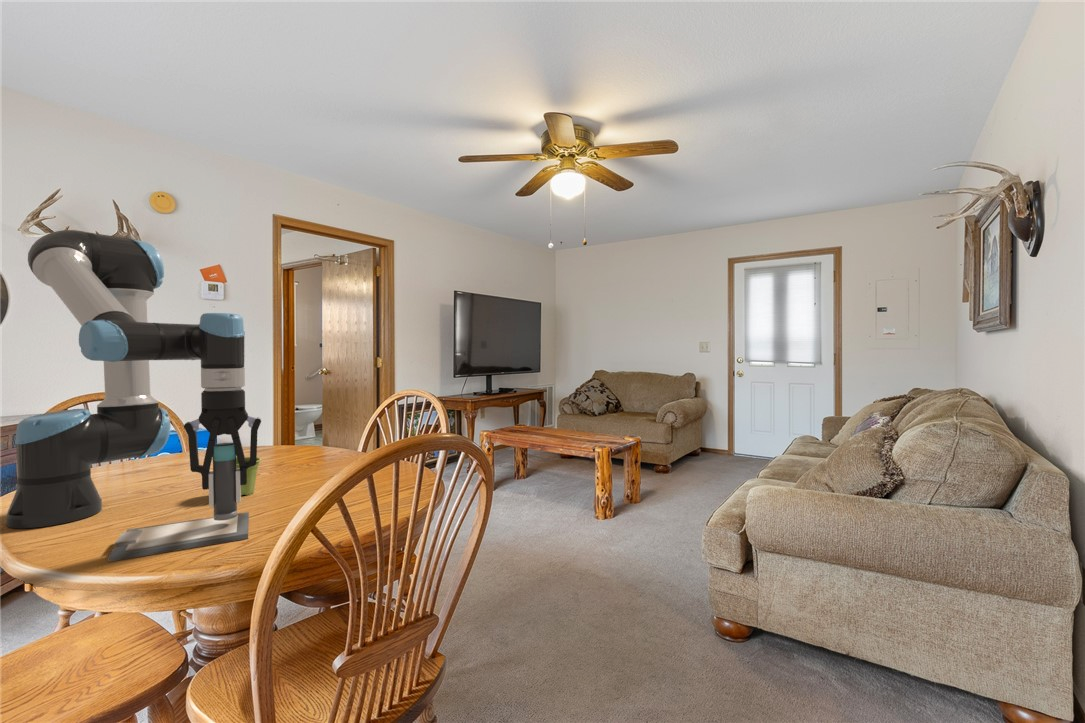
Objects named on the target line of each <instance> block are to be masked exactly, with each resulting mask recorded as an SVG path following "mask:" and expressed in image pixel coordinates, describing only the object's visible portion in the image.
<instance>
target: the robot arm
mask: <svg viewBox="0 0 1085 723" xmlns="http://www.w3.org/2000/svg"><path fill="white" fill-rule="evenodd" d="M27 262H28V267H29V269H30V271H31V272H32V273H33V275H34V276H35V277H36V279H37V280H38V281H39V282H40V283H42V284H44V285H46V286H49V287H51V289H52V290H53V291H54V293H55V294H56V295H57V296H58V298H59V299H60V300H61V301H62V302H63V304H64V305H65V306H66V308H67V309H68V310H69V312H70V313H71V314H72V315H73V316H74V318H75V319H76V321H77V322H78V323H79V324H80V329H79V333H78V345H79V347H80V352H81V354H82V356H83V357H84V358H86V359H87V360H90V361H96V362H98V361H99V362H103V375H104V376H103V378H104V381H103V382H104V399H102V400H101V401H100V402H99V403H98V404H97V405H96V412H97V413H91V412H90V410H89V409H87V408H75V409H74V408H73V409H68V410H67V409H64V410H56V411H52V412H51V411H50V412H45V413H41V414H36V415H32V416H28V417H27V418H23V419H22V420H21V421H19V422H18V424H17V425H16V426H17V427H16V434H15V440H14V444H15V445H16V446H15V447H16V473H17V474H16V476H17V488H16V490H15V493H14V496H13V497H12V500H11V503H10V505H9V507H8V510H7V513H6V515H5V516H6V517H5V518H6V520H5V521H6V523H5V524H6V527H8V528H10V529H11V528H13V529H33V528H35V529H36V528H41V527H42V528H43V527H44V528H45V527H51V526H56V525H62V524H66V523H71V522H72V523H73V522H74V521H75V522H77V521H78V520H82V519H83V520H84V519H86V518H89V517H91V516H94V515H97V514H98V513H100V512H101V511H102V509H103V503H102V498H101V495H100V494H99V491H98V490H97V487H96V485H95V483H94V481H93V479H92V475H91V474H92V473H91V472H92V469H91V468H92V465H95V464H102V463H108V462H115V461H120V460H126V459H132V458H133V459H134V458H136V459H140V458H142V457H144V456H149V455H154V454H156V453H159V452H160V451H162V449H163V448H164V447H165V445H166V444H167V443H168V442H167V441H168V440H169V437H170V432H171V418H170V417H169V413H168V411H167V410H166V409H165V408H162V407H159V401H158V400H157V399H156V398H154V397H153V396H152V395H151V381H150V380H151V379H150V377H151V376H150V375H151V374H150V361H198V360H199V361H200V388H202V389H204V390H202V392H201V393H200V397H201V398H200V400H201V401H200V404H201V411H200V415H199V416H198V418H197V419H193V420H192V421H187V422H185V423H184V424H183V428H184V430H185V432H186V435H187V436H188V437H187V438H188V452H189V454H188V455H189V465H190V472H192V473H199V474H201V488H202V489H203V491H204V490H208V506H209V508H210V507H214V481H213V470H211V471H210V469H211V465H212V462H213V450H214V446H215V444H217V443H216V441H217V437H218V436H222V435H228V436H229V435H230V436H231V439H232V443H233V444H234V448H235V452H236V458H237V459H238V463H239V467H240V468H239V469H236V503H237V504H240V503H241V501H242V500H241V499H242V495H241V485H246V483H247V469H248V468H249V467H251V466H255V465H256V461H257V457H258V456H257V455H258V452H257V451H258V430H259V428H260V426H261V423H262V419H261V417H254V416H252V415H251V416H250V415H249V414H248V412H247V410H246V391H245V390H244V389H242V388H244V387H245V386H246V373H245V370H246V369H245V335H246V332H245V328H244V327H245V326H244V318H243V317H242V316H241V315H240V314H236V313H225V312H224V313H223V312H206V313H204V312H203V313H202V314H201V315H200V317H199V323H198V324H195V323H193V324H190V323H166V322H165V323H163V322H148V306H147V304H148V303H147V301H148V300H149V299H150V298H151V297H152V296H153V295H155V294H154V292H155V291H154V290H155V289H158V288H161V285H162V284H163V282H164V280H163V278H164V277H165V266H164V262H163V258H162V256H161V254H160V252H159V251H158V250H157V249H156V247H155V246H154V245H152V244H151V243H149V242H146V241H143V240H136V239H134V238H131V237H129V238H128V237H122V236H121V237H120V236H115V235H109V234H107V235H106V234H101V233H94V232H88V231H83V230H78V229H64V230H63V229H61V230H56V231H52V232H49V233H47V234H45V235H43V236H41V237H39V238H38V239H37V240H35V242H34V243H33V244H32V245H31V247H30V248H29V251H28V253H27ZM245 422H247V423H248V427H249V428H251V429H250V444H249V445H250V447H249V450H250V451H249V457H250V460H248V461H246V460H245V457H246V456H245V453H244V448H243V445H242V442H241V438H240V433H239V432H240V431H239V430H240V429H241V428H242V427H243V425H244V424H245ZM200 424H201V425H202V426H203V428H205V430H207V432H208V433H209V435H208V441H207V445H206V446H207V447H206V450H205V455H204V459H203V464H202V465H201V464H200V460H199V459H200V458H199V447H198V443H199V442H198V433H197V432H198V431H199V429H200Z"/></svg>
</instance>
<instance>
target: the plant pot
mask: <svg viewBox="0 0 1085 723" xmlns="http://www.w3.org/2000/svg"><path fill="white" fill-rule="evenodd" d="M245 460H246V461H248V460H250V456H245ZM261 461H262V458H261V457H258V456H257V461H256V465H255V466H251V467H249V468H248V469H247V483H246V485H241V496H243V495H246V496H249V495H251V494H254V492H255V486H256V480H257V473H258V467H259V466H260V462H261ZM239 468H240V467H239V463H238V459H237V457H236V469H239Z"/></svg>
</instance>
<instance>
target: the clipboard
mask: <svg viewBox="0 0 1085 723" xmlns="http://www.w3.org/2000/svg"><path fill="white" fill-rule="evenodd" d="M249 514H250V513H249V511H246V512H241V513H237V516H236V517H235V518H232V519H228V520H220V521H218V520H214V516H212V517H205V518H197V519H192V520H191V519H190V520H184V521H177V522H169V523H164V524H157V525H155V524H154V525H150V526H144V527H143V526H141V527H136V528H129V529H127V530H125V531H124V532H121V534H120V535H119V536H118V538H117V539H116V541H115V542H114V548H113V549H112V551H111V552H110V554H109V555H108V562H109V563H111V562H116V561H121V560H127V559H135V558H139V557H141V558H142V557H147V556H152V555H158V554H159V555H160V554H164V553H168V552H170V553H171V552H176V551H182V550H189V549H193V548H194V549H195V548H199V547H206V546H211V545H218V544H225V543H230V542H236V541H241V540H242V541H243V540H249V527H250V526H249V521H250V520H249V518H250V515H249Z"/></svg>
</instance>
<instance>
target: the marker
mask: <svg viewBox="0 0 1085 723" xmlns="http://www.w3.org/2000/svg"><path fill="white" fill-rule="evenodd" d="M236 458H237V456H236V452H235V448H234V444H233V442H221V443H220V442H219V443H215V446H214V450H213V456H212V471H213V481H214V506H213V517H214V520H218V521H220V520H228V519H232V518H235V517H236V516H237V514H238V503H236Z"/></svg>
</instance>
